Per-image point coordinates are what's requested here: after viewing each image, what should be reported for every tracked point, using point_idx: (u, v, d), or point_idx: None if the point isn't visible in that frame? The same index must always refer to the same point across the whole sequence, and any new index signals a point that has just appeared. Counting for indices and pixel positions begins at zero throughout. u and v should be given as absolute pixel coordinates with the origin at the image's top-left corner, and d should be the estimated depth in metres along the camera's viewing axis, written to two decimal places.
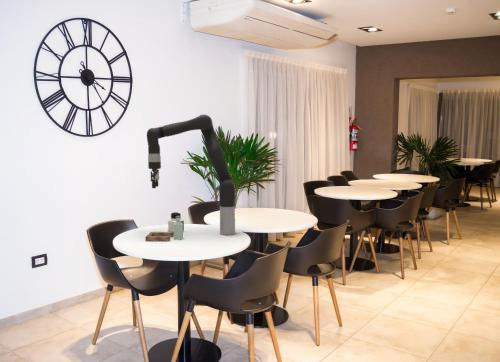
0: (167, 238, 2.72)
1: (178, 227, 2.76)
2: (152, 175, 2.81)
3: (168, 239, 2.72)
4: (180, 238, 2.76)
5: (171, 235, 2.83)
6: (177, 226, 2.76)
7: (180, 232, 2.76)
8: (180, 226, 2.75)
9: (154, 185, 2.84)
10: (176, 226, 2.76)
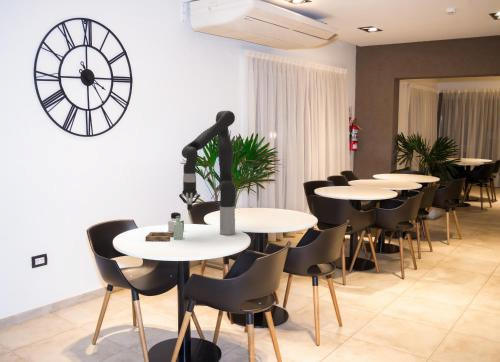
0: (167, 238, 2.72)
1: (178, 227, 2.76)
2: (197, 198, 2.76)
3: (168, 239, 2.72)
4: (180, 238, 2.76)
5: (171, 235, 2.83)
6: (177, 226, 2.76)
7: (180, 232, 2.76)
8: (180, 226, 2.75)
9: None
10: (176, 226, 2.76)
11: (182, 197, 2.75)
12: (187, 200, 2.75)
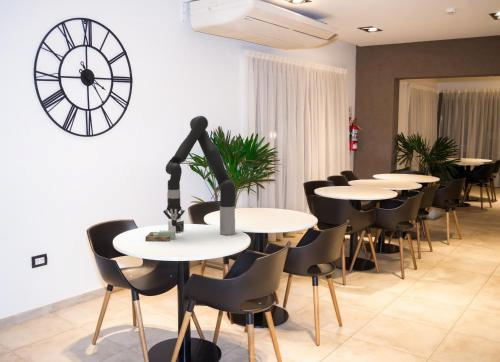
0: (167, 238, 2.72)
1: (161, 235, 2.76)
2: (182, 214, 2.77)
3: (168, 239, 2.72)
4: (172, 233, 2.76)
5: None
6: None
7: (166, 233, 2.76)
8: (160, 233, 2.76)
9: (176, 223, 2.78)
10: None
11: (166, 213, 2.76)
12: (171, 216, 2.76)
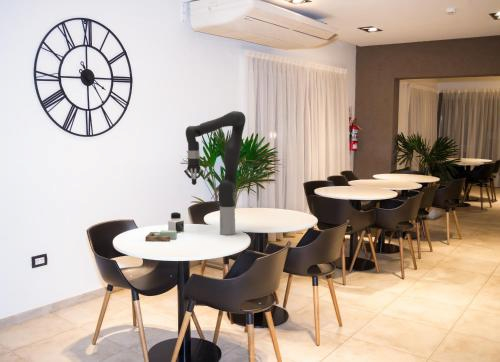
0: (167, 238, 2.72)
1: (162, 235, 2.76)
2: (201, 173, 3.00)
3: (168, 239, 2.72)
4: (173, 233, 2.76)
5: None
6: None
7: (167, 233, 2.76)
8: (161, 233, 2.76)
9: None
10: None
11: (187, 172, 2.99)
12: (192, 175, 2.99)
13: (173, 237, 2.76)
